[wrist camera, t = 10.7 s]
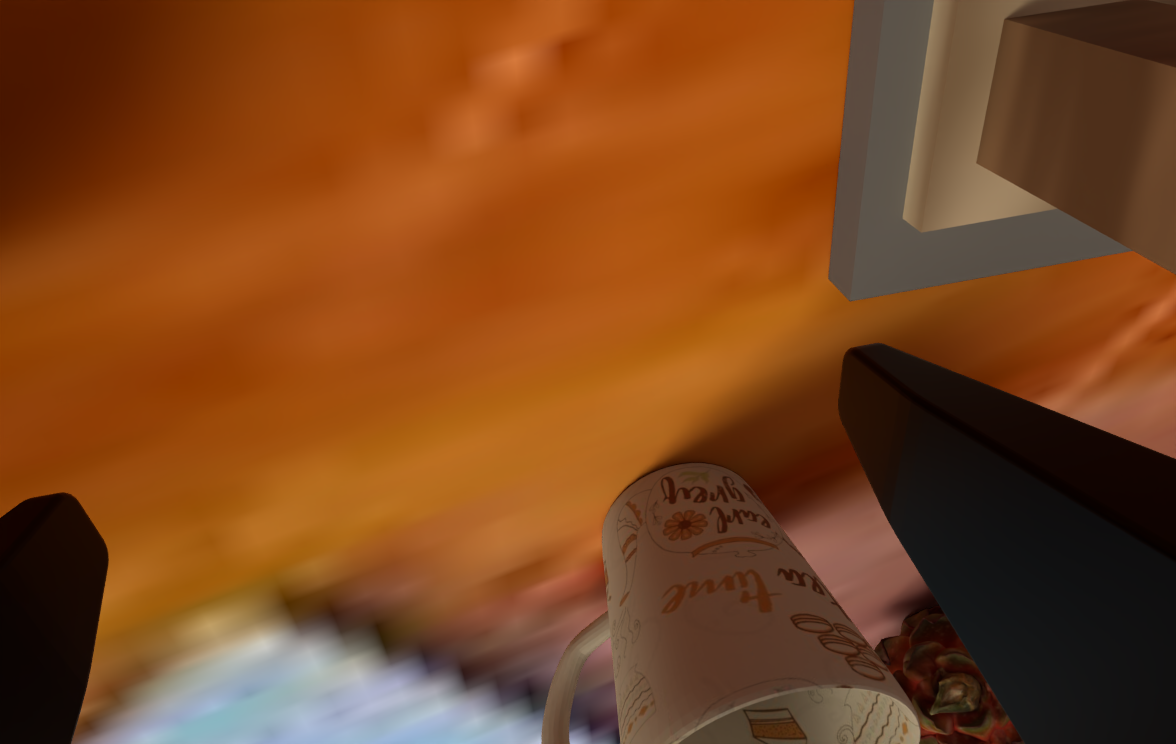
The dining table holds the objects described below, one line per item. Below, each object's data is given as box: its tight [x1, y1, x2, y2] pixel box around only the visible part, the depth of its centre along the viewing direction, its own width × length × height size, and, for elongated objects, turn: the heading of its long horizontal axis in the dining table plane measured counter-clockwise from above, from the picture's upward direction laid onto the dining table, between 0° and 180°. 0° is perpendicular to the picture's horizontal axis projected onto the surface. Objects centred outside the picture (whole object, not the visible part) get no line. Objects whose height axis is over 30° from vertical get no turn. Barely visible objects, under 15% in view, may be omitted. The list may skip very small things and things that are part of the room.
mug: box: [542, 463, 921, 744], centre depth 26 cm, size 8×13×10 cm, turn 137°
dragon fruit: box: [874, 606, 1024, 744], centre depth 34 cm, size 8×8×12 cm
